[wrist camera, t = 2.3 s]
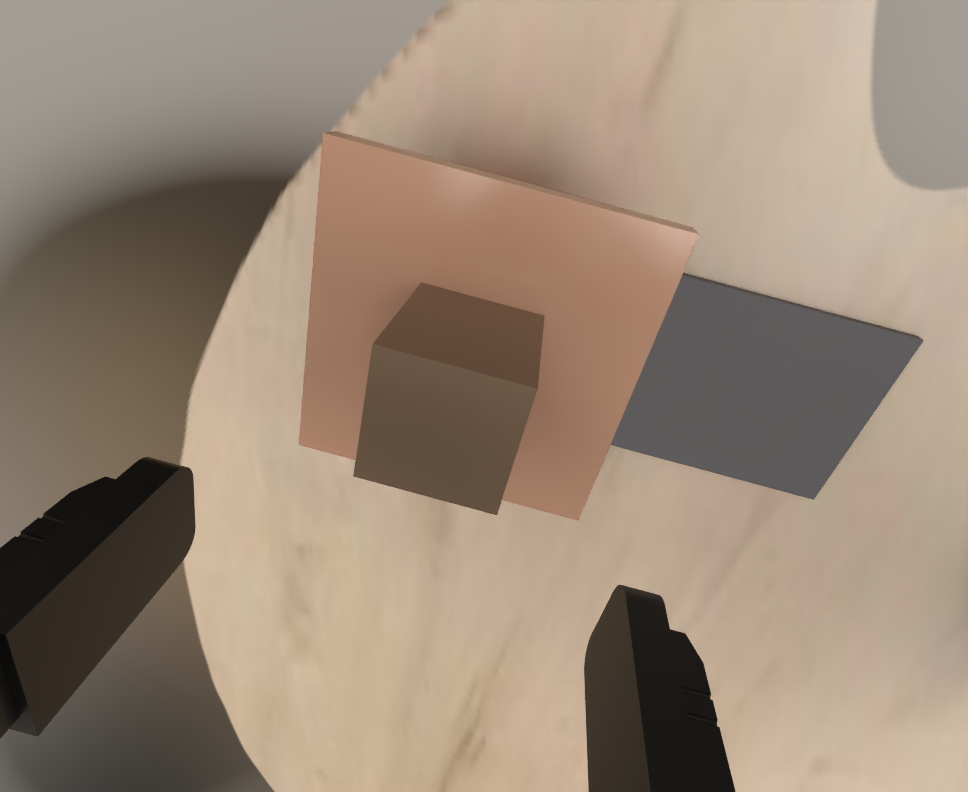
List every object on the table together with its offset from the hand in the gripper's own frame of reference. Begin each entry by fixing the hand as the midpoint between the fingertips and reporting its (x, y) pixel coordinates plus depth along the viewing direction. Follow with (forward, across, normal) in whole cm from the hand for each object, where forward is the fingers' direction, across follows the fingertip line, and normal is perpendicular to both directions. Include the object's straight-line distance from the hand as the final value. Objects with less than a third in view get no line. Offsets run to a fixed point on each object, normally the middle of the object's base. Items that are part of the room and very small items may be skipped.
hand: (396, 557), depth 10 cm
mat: (+25, -16, +5) cm, 30 cm away
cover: (+10, 0, 0) cm, 10 cm away
